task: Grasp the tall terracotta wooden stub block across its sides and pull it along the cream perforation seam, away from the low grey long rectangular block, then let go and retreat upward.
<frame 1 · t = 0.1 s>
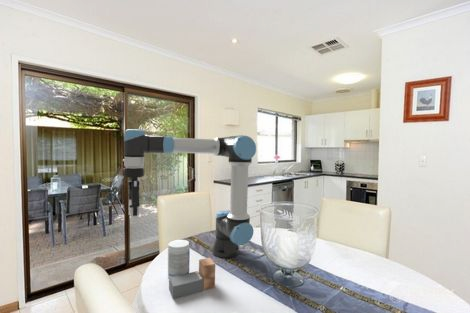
hand: (133, 218, 97), 28 cm above the table, fingers open, 13 cm apart
stub: (206, 273, 100), point 5 cm above the table, slide at 0.0 cm
supplement tub: (178, 275, 107), on the table
grey long rectangular block: (185, 290, 96), on the table
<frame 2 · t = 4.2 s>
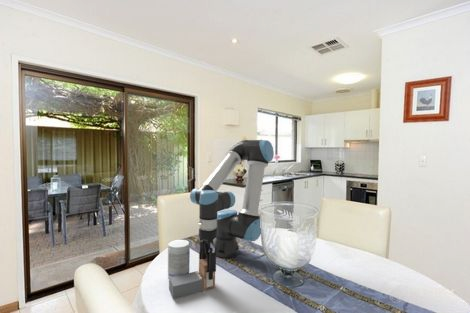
hand: (206, 281, 100), 1 cm above the table, fingers closed on stub, 6 cm apart
stub: (206, 273, 100), point 5 cm above the table, slide at 0.0 cm, touching gripper
everything else where it was.
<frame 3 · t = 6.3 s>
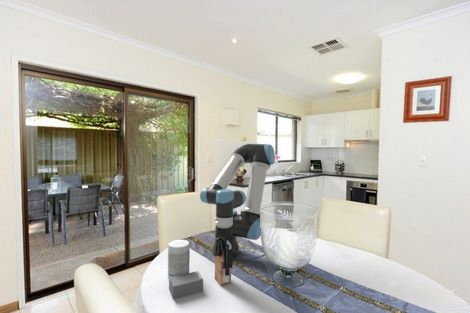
hand: (222, 277, 103), 1 cm above the table, fingers closed on stub, 6 cm apart
stub: (222, 269, 103), point 5 cm above the table, slide at 7.4 cm, touching gripper
everything else where it was.
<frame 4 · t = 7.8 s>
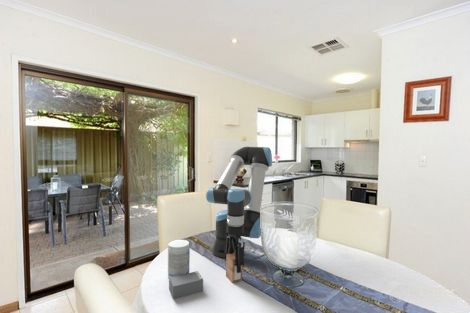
hand: (233, 275, 106), 1 cm above the table, fingers closed on stub, 6 cm apart
stub: (234, 266, 106), point 5 cm above the table, slide at 13.0 cm, touching gripper
everything else where it was.
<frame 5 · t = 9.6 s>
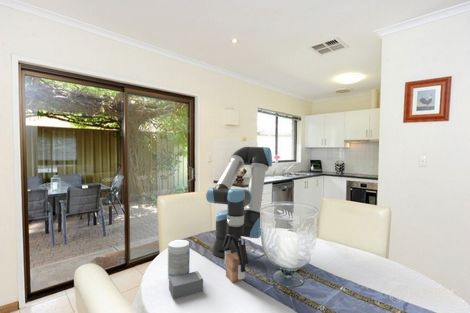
hand: (234, 271, 106), 3 cm above the table, fingers open, 13 cm apart
stub: (234, 266, 106), point 5 cm above the table, slide at 13.0 cm
everything else where it was.
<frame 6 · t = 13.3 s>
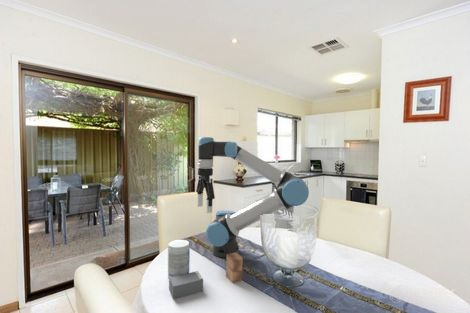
hand: (204, 209, 121), 27 cm above the table, fingers open, 13 cm apart
nothing on the table moved.
at the end: stub slide at 13.0 cm; the gripper is holding nothing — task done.
